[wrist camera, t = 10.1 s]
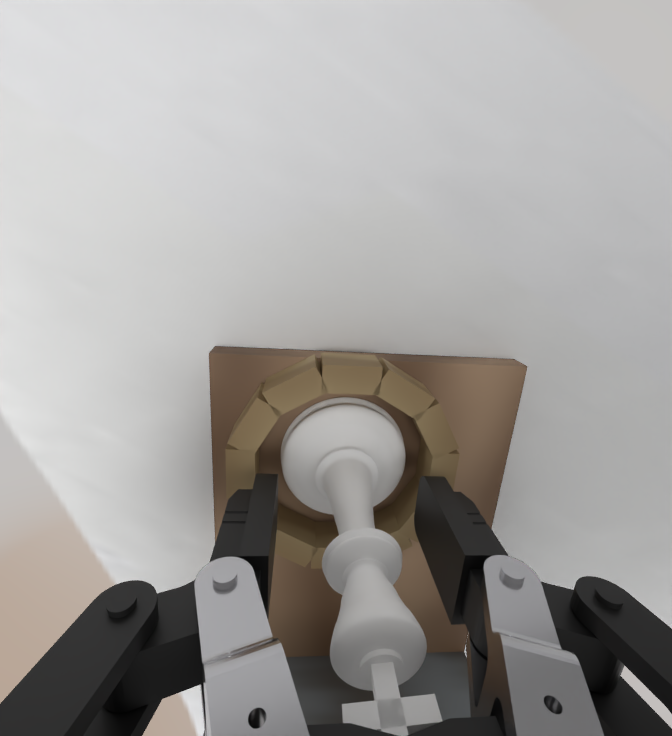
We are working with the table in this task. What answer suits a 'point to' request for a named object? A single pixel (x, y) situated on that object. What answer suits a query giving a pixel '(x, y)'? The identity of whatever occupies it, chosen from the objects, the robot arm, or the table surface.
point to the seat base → (393, 515)
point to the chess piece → (361, 555)
